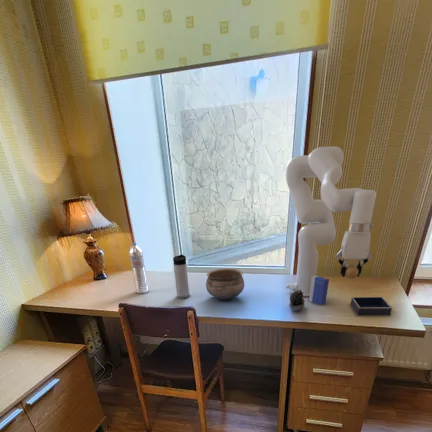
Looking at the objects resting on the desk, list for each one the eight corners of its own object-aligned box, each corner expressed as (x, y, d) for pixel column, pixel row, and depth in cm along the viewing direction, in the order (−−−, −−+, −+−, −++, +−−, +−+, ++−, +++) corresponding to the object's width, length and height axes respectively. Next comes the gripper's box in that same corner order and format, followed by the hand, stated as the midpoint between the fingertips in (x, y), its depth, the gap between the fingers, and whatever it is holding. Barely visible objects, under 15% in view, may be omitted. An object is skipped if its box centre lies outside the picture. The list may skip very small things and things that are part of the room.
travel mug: (191, 294, 172) (188, 254, 161) (186, 299, 167) (182, 258, 156) (180, 293, 174) (176, 254, 163) (175, 298, 169) (170, 257, 158)
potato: (345, 280, 133) (348, 267, 130) (341, 274, 140) (343, 262, 137) (358, 280, 133) (361, 267, 130) (353, 274, 139) (355, 262, 136)
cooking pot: (235, 309, 154) (235, 283, 147) (198, 305, 160) (196, 280, 153) (250, 291, 173) (250, 267, 166) (216, 288, 179) (215, 265, 172)
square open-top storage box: (357, 316, 141) (359, 307, 139) (350, 305, 152) (351, 297, 150) (389, 316, 140) (392, 307, 138) (380, 304, 151) (382, 296, 149)
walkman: (325, 304, 154) (329, 278, 147) (321, 305, 153) (324, 279, 146) (313, 299, 160) (316, 274, 153) (308, 300, 159) (311, 275, 152)
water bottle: (151, 290, 181) (143, 241, 166) (144, 294, 176) (135, 244, 161) (141, 289, 183) (132, 241, 169) (133, 293, 178) (124, 244, 164)
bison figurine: (288, 303, 156) (290, 282, 150) (303, 304, 155) (306, 282, 149) (288, 313, 146) (290, 291, 141) (305, 314, 145) (307, 291, 140)
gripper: (379, 225, 128) (368, 272, 138) (333, 226, 129) (326, 273, 140) (385, 228, 122) (374, 278, 132) (338, 230, 123) (330, 278, 133)
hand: (350, 275), depth 136 cm, fingers closed on potato, 5 cm apart
